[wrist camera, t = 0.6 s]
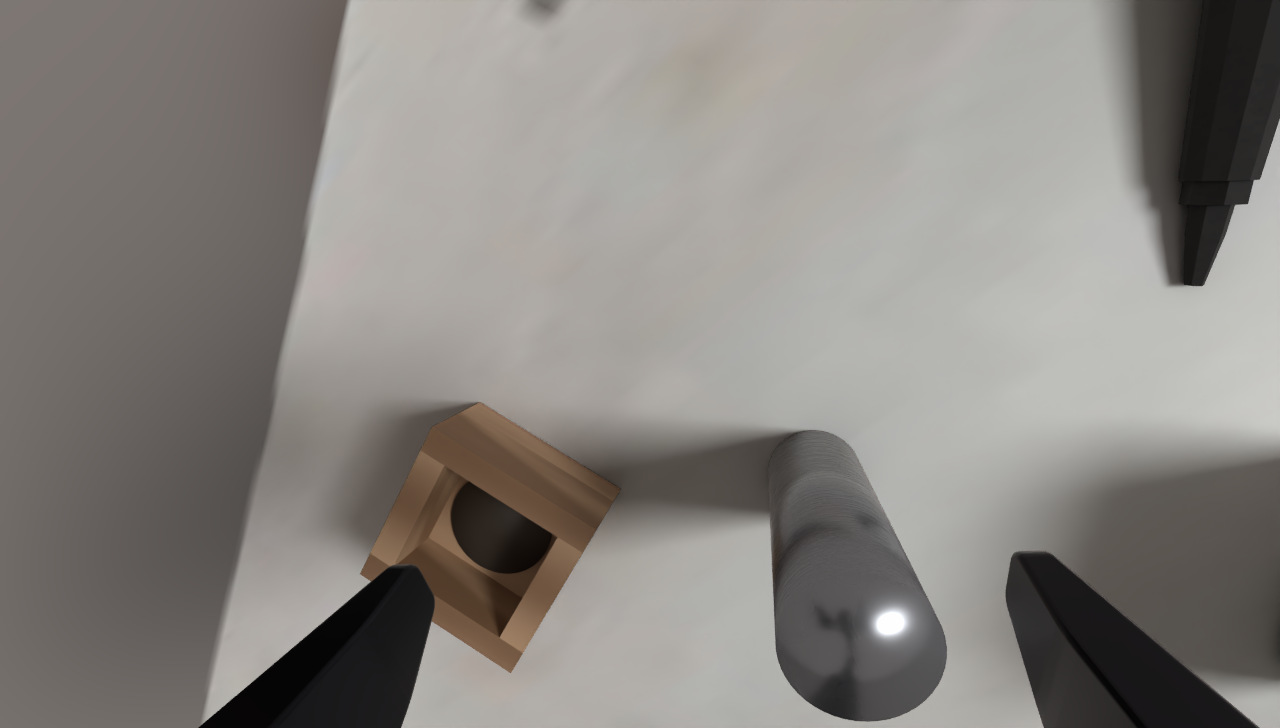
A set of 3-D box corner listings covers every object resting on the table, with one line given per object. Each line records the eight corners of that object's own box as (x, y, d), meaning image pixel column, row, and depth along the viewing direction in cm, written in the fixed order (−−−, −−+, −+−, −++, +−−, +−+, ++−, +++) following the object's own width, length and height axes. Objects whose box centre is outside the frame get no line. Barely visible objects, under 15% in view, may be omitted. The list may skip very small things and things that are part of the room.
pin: (828, 532, 27) (884, 750, 15) (750, 485, 28) (745, 662, 16) (879, 461, 26) (982, 632, 14) (799, 413, 27) (832, 542, 15)
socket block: (545, 614, 31) (510, 673, 26) (415, 530, 31) (359, 574, 27) (620, 489, 29) (596, 530, 25) (480, 402, 29) (431, 427, 25)
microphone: (1184, 271, 26) (1311, -296, 20) (1341, 293, 21) (1567, -460, 15) (1073, 277, 25) (1172, -303, 20) (1205, 302, 20) (1388, -475, 15)
